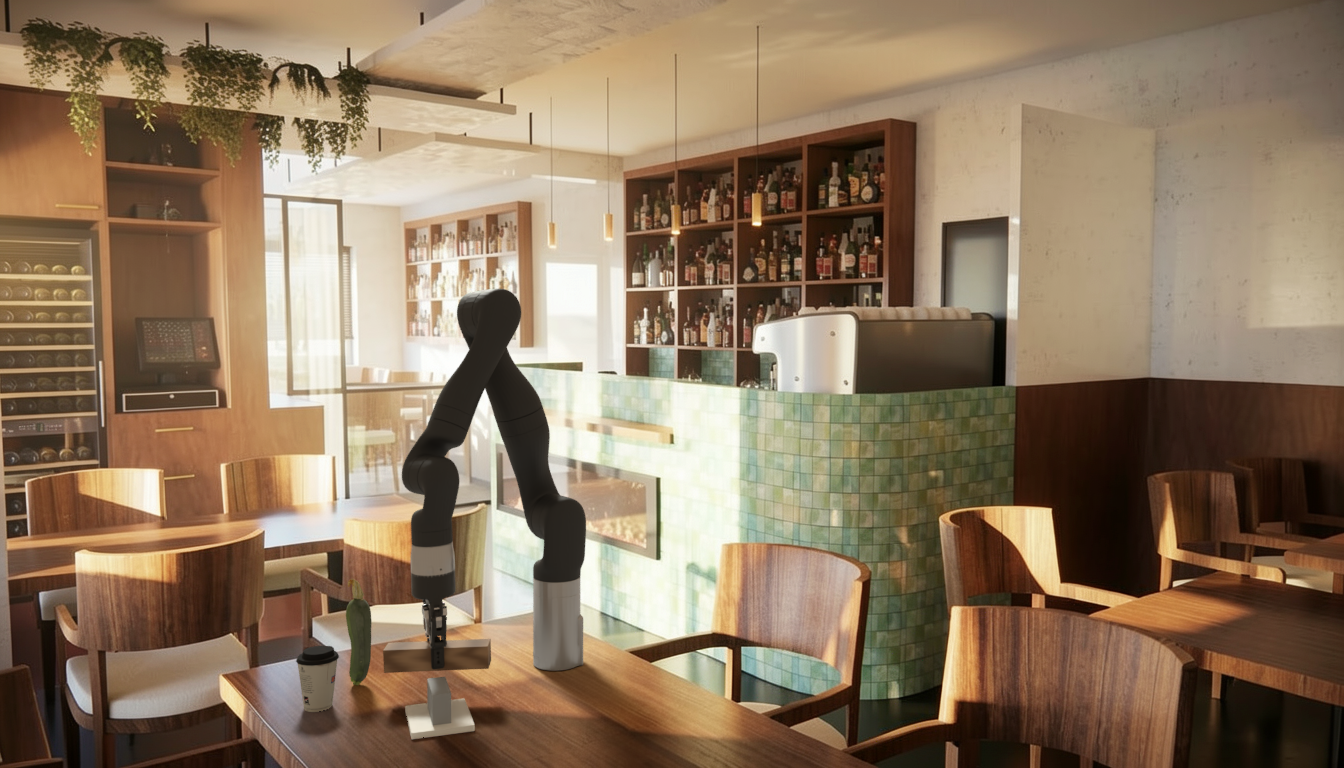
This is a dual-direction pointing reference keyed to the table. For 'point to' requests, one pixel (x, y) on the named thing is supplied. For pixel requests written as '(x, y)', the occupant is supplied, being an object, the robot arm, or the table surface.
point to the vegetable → (359, 633)
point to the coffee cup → (317, 677)
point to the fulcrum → (438, 713)
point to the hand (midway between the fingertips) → (435, 662)
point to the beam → (419, 656)
